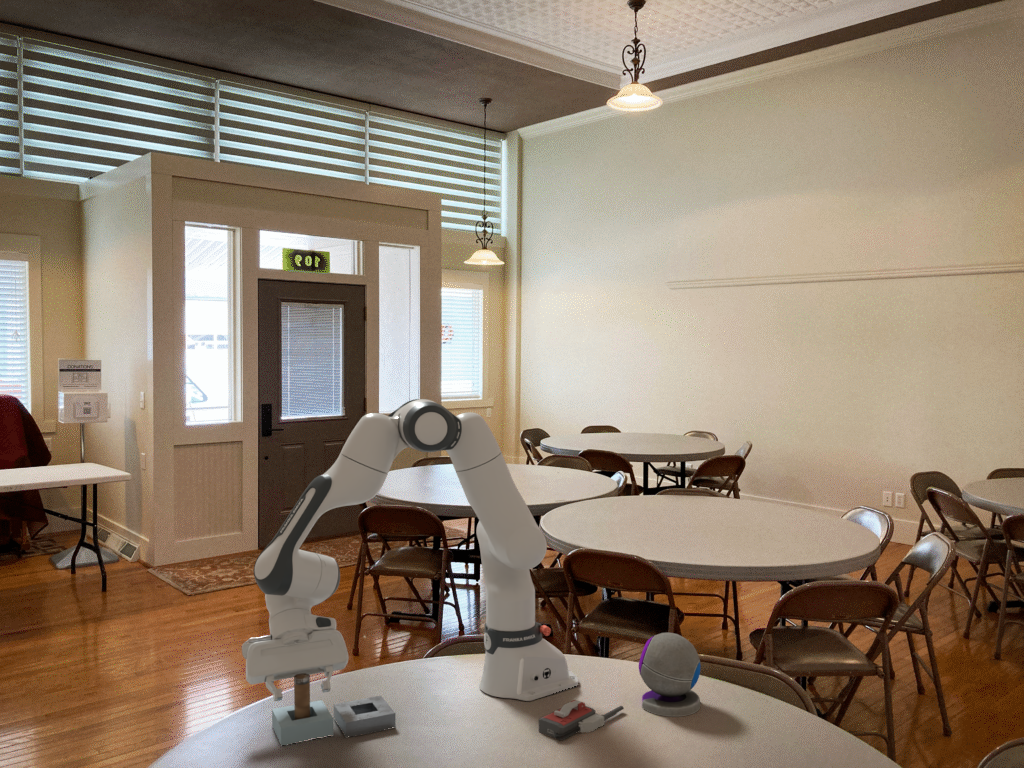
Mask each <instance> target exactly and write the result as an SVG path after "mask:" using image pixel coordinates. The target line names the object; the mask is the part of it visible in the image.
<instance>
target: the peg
mask: <svg viewBox="0 0 1024 768" xmlns="http://www.w3.org/2000/svg"><path fill="white" fill-rule="evenodd" d="M310 677H311V675H309V674H307V673H301V674H297V675H295V676H294V677H293V683H294V685H293V686H294V687H293V690H294V691H293V693H294V696H293V698H294V704H293V705H294V708H295V720H298V719H304V718H309V717H310V702H311V687H310V685H311V681H310V680H311V679H310Z"/></svg>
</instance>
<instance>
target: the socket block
mask: <svg viewBox="0 0 1024 768" xmlns="http://www.w3.org/2000/svg"><path fill="white" fill-rule="evenodd" d="M334 718H335V720H336V721H337V723H338V724H339V726H340V728H341V729H342V731H343V732H344V734H345V735H344V734H343V735H344V737H345V736H346V737H348V736H353V737H356V736H355V735H358V736H362V735H361V734H363V735H368V734H372V733H371V732H373V733H376V732H375V731H378V732H381V731H380V730H383V731H385V730H384V729H388V728H392V727H397V726H396V712H395V711H394V709H393V708H392V707H391V706H390V705H389V703H388V702H387V701H386V700H385V699H384V697H383V696H382V695H377V696H371V697H365V698H359V699H354V700H350V701H343V702H339V703H334V704H333V719H334ZM335 720H334V721H335ZM336 721H335V722H336ZM337 723H336V724H337ZM338 724H337V725H338ZM339 726H338V727H339ZM340 728H339V729H340ZM341 729H340V730H341ZM388 730H389V729H388ZM342 731H341V732H342ZM343 732H342V733H343ZM367 733H368V734H367ZM346 737H345V738H346Z"/></svg>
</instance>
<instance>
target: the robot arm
mask: <svg viewBox="0 0 1024 768" xmlns="http://www.w3.org/2000/svg"><path fill="white" fill-rule="evenodd" d="M407 448H411V449H414V450H415V451H416V450H417V451H420V452H423V453H435V452H441V451H443V452H444V451H445V452H446V454H447V455H448V456H449V459H450V460H451V463H452V466H453V469H454V471H455V473H456V476H457V478H458V481H459V483H460V485H461V488H462V489H463V493H464V495H465V497H466V499H467V502H468V504H469V506H470V507H471V508H472V510H473V512H474V513H475V515H476V517H477V519H478V523H477V525H476V530H475V531H476V533H475V534H476V538H477V540H478V544H479V545H478V546H479V551H480V559H481V567H482V568H481V569H482V573H483V579H484V584H485V585H484V586H485V587H484V588H485V614H486V616H485V617H486V618H485V621H486V622H485V623H484V628H483V629H484V633H483V634H484V635H483V643H484V650H485V655H484V664H483V671H482V675H481V679H480V683H479V689H480V690H481V691H482V692H483V693H485V694H487V695H488V696H492V697H498V698H502V699H503V698H504V699H515V700H518V701H519V700H520V701H524V702H525V701H526V702H531V701H535V700H537V699H540V698H544V697H546V696H550V695H554V694H556V692H557V693H560V692H563V691H566V690H569V689H568V688H570V689H572V687H573V688H575V687H574V686H576V687H577V685H578V686H579V684H578V683H579V677H578V676H577V675H576V674H575V673H574V672H573V671H571V670H570V669H569V668H568V665H569V664H568V661H567V658H566V656H565V655H564V654H563V652H562V651H561V650H560V649H558V648H557V647H556V646H554V645H553V644H551V643H550V642H549V641H547V640H546V639H545V638H543V635H544V636H545V637H548V636H550V634H552V628H550V627H549V626H547V625H546V624H543V625H542V624H541V623H539V622H537V621H536V589H535V586H534V583H533V579H532V575H531V572H530V570H531V569H533V568H535V567H538V565H539V564H541V562H542V561H543V560H544V558H545V556H546V553H547V549H548V548H547V547H548V543H547V539H546V536H545V534H544V533H543V531H542V530H541V528H540V527H539V525H538V523H537V522H536V519H535V518H534V515H533V514H532V512H531V511H530V509H529V507H528V505H527V502H526V501H525V500H524V498H523V495H521V493H520V491H519V489H518V488H517V486H516V484H515V482H514V479H513V477H512V475H511V473H510V470H509V467H508V465H507V462H506V460H505V457H504V455H503V453H502V450H501V448H500V446H499V443H498V440H497V439H496V437H495V435H494V433H493V432H492V429H491V428H490V427H489V425H488V423H487V422H486V420H485V419H484V417H483V416H482V415H480V414H479V413H477V412H473V411H469V412H462V413H460V414H457V415H455V414H454V413H452V411H450V410H449V409H448V408H446V407H445V406H443V405H441V404H439V403H438V402H436V401H433V400H431V399H427V398H426V399H425V398H416V399H411V400H409V401H407V402H404V403H403V404H402V405H400V406H399V407H398V408H397V409H395V410H393V412H391V413H389V414H388V415H386V414H384V413H379V412H371V413H370V412H369V413H367V414H364V415H363V416H362V417H361V418H360V419H359V421H358V422H357V423H356V425H355V426H354V428H353V429H352V430H351V433H350V434H349V436H348V437H347V439H346V441H345V443H344V445H343V446H342V449H341V451H340V453H339V455H338V457H337V459H335V462H333V464H332V465H331V466H330V467H329V468H328V469H327V470H326V471H325V472H323V474H321V475H318V476H316V477H314V479H312V481H310V482H309V484H308V485H307V487H306V488H305V490H304V491H303V492H302V493H301V495H300V497H299V499H298V500H297V502H296V503H295V505H294V506H293V507H292V509H291V511H290V513H289V514H288V516H287V517H286V518H285V520H284V521H283V523H282V524H281V526H280V527H279V529H278V531H277V532H276V534H275V535H274V537H273V538H272V540H271V541H270V542H269V543H268V544H267V545H266V546H265V547H264V549H263V550H262V551H261V552H260V554H259V555H258V556H257V558H256V560H255V561H254V566H253V578H254V581H255V582H256V585H257V587H259V588H258V589H260V591H262V593H264V599H265V604H266V605H265V606H266V609H267V611H268V613H269V618H268V625H269V626H268V627H269V635H268V634H267V635H263V636H262V635H261V636H259V637H250V638H248V639H247V640H246V641H244V642H243V643H242V645H241V654H242V657H243V658H244V659H245V681H246V682H248V684H250V685H256V684H263V683H265V688H267V690H268V691H269V692H270V693H271V694H272V695H273V697H272V698H273V702H280V701H282V700H283V698H284V697H283V693H282V692H283V691H282V690H283V689H282V688H278V687H276V685H275V684H274V682H275V681H280V680H281V681H282V680H288V679H292V678H293V679H294V676H295V675H297V674H301V673H307V674H309V675H310V676H311V675H316V674H324V677H326V680H322V682H321V684H320V687H321V693H330V692H331V687H332V686H331V679H332V676H333V673H334V672H335V671H340V670H344V669H345V668H346V667H347V665H348V662H349V653H348V649H347V644H346V641H345V640H344V637H343V635H342V633H341V631H339V630H338V629H337V620H336V618H334V617H329V616H328V617H327V616H323V615H322V616H321V615H317V614H313V613H312V611H311V609H312V607H315V606H318V605H320V604H322V603H324V602H325V601H327V600H328V599H329V598H331V597H332V596H333V595H334V594H335V593H336V591H337V590H338V589H339V586H340V581H341V570H340V567H339V564H338V562H337V560H336V559H335V558H334V557H331V556H330V555H329V556H328V555H326V554H322V553H319V552H313V551H309V550H303V549H300V548H301V546H302V545H303V543H304V542H305V540H306V538H307V537H308V535H309V534H310V532H311V531H312V528H313V527H314V526H315V524H316V523H317V522H318V520H319V519H320V517H321V516H322V515H324V514H325V513H326V512H328V511H330V510H334V509H336V508H341V507H346V506H349V507H350V506H357V505H360V504H364V503H366V502H369V501H370V500H372V499H374V498H375V497H376V496H377V494H379V493H380V490H382V487H383V486H384V483H385V481H386V479H387V477H388V474H389V472H390V470H391V468H392V465H393V462H394V460H395V459H396V458H397V456H398V455H399V454H400V453H401V452H402V451H403V450H404V449H407ZM565 689H566V690H565ZM562 690H563V691H562ZM559 691H560V692H559ZM553 693H554V694H553Z"/></svg>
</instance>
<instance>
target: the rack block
mask: <svg viewBox="0 0 1024 768" xmlns="http://www.w3.org/2000/svg"><path fill="white" fill-rule="evenodd" d="M271 723H272V725H271V726H273V727H272V728H274V729H273V731H274V733H275V736H276V735H277V736H276V738H277V737H278V738H277V740H278V739H279V740H278V742H279V744H281V745H286V746H288V745H287V744H291V743H295V742H299V741H304V740H308V739H311V738H317V737H324V736H328V735H333V736H334V716H332V714H331V713H330V710H329V709H328V708H327V706H326V705H325V703H324V701H323V700H322V699H321V700H319V699H318V700H314V701H310V717H309V718H304V719H298V720H295V708H294V704H293V705H287V706H281V707H276V708H275V707H274V708H271ZM281 745H280V746H281ZM291 745H292V744H291Z"/></svg>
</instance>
